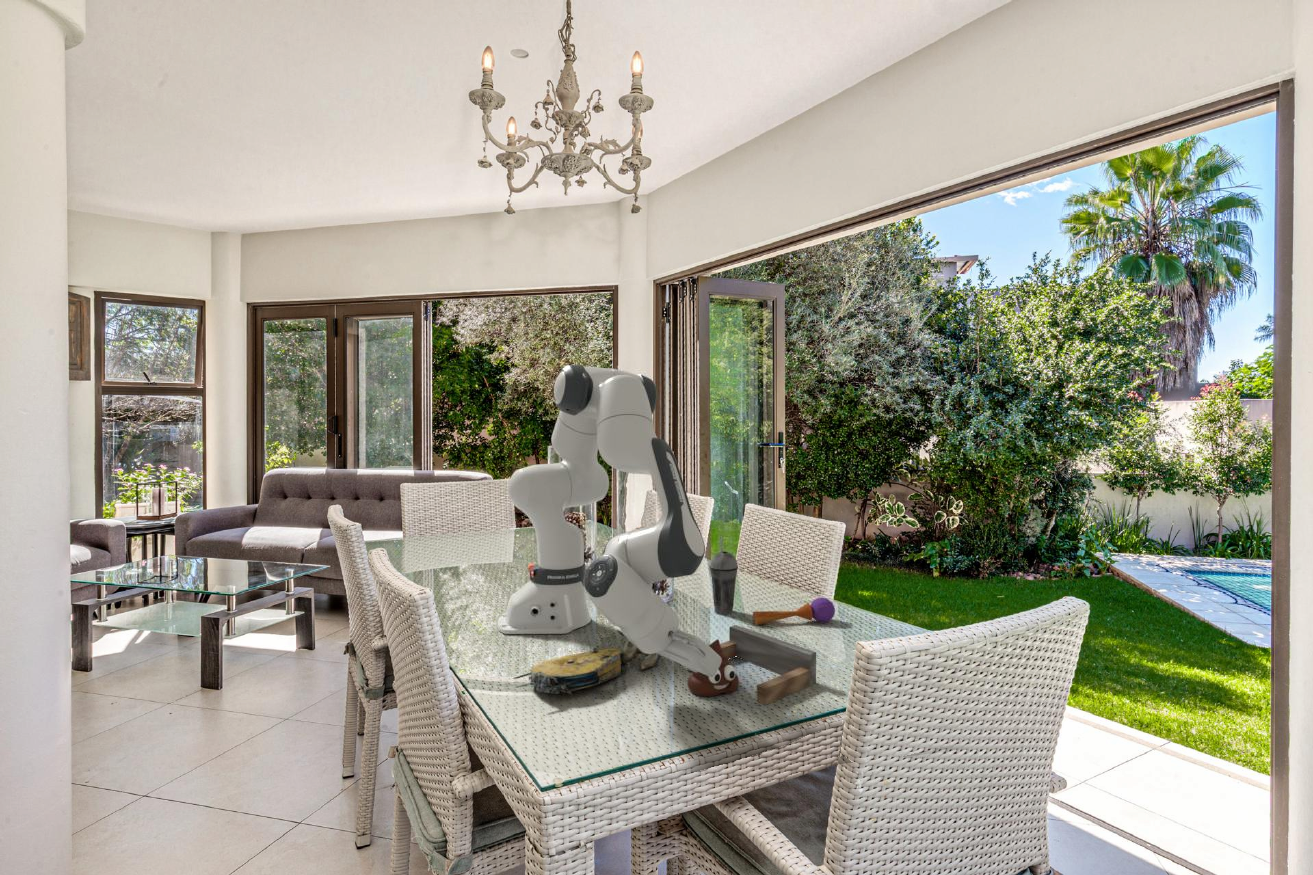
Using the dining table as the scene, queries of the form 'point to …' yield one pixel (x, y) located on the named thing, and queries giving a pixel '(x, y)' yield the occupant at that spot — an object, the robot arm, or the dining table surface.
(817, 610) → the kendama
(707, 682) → the poop emoji
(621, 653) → the pulley block
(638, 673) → the dining table surface
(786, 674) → the channel
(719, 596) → the beverage cup
